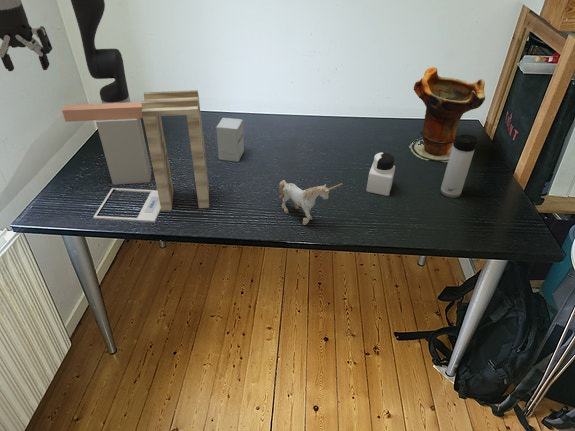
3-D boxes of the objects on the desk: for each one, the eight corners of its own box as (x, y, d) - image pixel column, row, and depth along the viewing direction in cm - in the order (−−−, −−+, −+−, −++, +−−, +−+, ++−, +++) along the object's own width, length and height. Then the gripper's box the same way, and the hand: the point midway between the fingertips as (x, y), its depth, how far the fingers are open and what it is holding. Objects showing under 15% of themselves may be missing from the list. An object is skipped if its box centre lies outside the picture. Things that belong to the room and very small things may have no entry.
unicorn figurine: (328, 235, 129) (331, 197, 121) (268, 213, 136) (267, 176, 128) (338, 221, 134) (342, 183, 125) (280, 201, 141) (280, 164, 133)
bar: (68, 116, 135) (65, 105, 133) (152, 112, 138) (150, 101, 135) (65, 121, 132) (62, 110, 130) (150, 117, 135) (148, 106, 133)
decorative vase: (470, 170, 155) (490, 91, 138) (401, 160, 162) (412, 84, 145) (471, 141, 171) (489, 67, 154) (408, 133, 177) (419, 61, 160)
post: (115, 174, 150) (99, 113, 137) (151, 172, 152) (139, 111, 138) (112, 184, 146) (95, 121, 132) (149, 182, 148) (136, 120, 134)
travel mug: (450, 200, 142) (467, 144, 130) (436, 189, 147) (451, 134, 134) (465, 195, 145) (483, 139, 132) (450, 184, 149) (467, 129, 137)
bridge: (163, 191, 144) (144, 89, 123) (208, 188, 145) (197, 87, 124) (161, 210, 136) (140, 106, 115) (209, 207, 138) (197, 103, 117)
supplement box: (239, 162, 158) (237, 129, 150) (218, 159, 159) (215, 126, 151) (244, 151, 163) (243, 119, 155) (224, 149, 164) (222, 116, 156)
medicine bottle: (392, 184, 149) (398, 152, 141) (388, 196, 144) (394, 164, 136) (370, 179, 151) (375, 148, 143) (366, 191, 145) (370, 159, 138)
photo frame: (154, 220, 132) (93, 216, 133) (155, 223, 132) (94, 219, 133) (168, 190, 143) (111, 187, 144) (168, 193, 144) (112, 190, 145)
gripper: (40, -3, 111) (61, 62, 122) (-22, -2, 110) (5, 64, 121) (30, 7, 106) (53, 75, 116) (-35, 9, 104) (-6, 76, 115)
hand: (28, 69), depth 119 cm, fingers open, 8 cm apart
